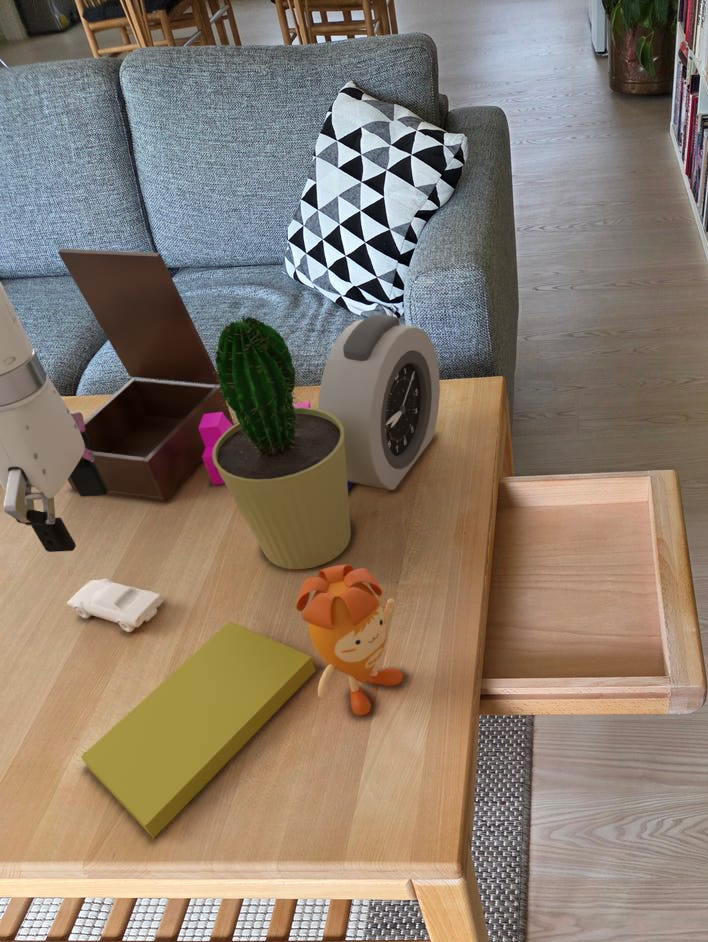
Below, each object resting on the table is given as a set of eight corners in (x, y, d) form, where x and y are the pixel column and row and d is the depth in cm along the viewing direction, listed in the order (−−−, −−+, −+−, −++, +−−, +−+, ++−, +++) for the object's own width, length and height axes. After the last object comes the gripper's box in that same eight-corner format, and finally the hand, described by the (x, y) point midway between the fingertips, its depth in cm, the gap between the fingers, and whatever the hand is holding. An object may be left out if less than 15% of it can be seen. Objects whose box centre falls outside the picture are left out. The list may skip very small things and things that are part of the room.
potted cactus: (334, 590, 104) (267, 358, 83) (225, 569, 109) (135, 344, 87) (387, 513, 114) (339, 287, 92) (285, 496, 118) (217, 278, 97)
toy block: (212, 484, 122) (194, 438, 117) (221, 459, 126) (203, 414, 121) (317, 473, 121) (304, 426, 116) (322, 448, 125) (309, 402, 120)
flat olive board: (235, 634, 100) (70, 786, 87) (230, 620, 99) (61, 774, 85) (315, 670, 95) (153, 838, 82) (311, 656, 93) (145, 826, 80)
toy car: (98, 585, 109) (87, 565, 106) (173, 607, 104) (163, 586, 102) (67, 614, 105) (55, 594, 103) (143, 638, 101) (132, 617, 99)
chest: (165, 503, 120) (147, 461, 115) (73, 490, 124) (52, 449, 119) (234, 426, 133) (221, 385, 128) (148, 417, 137) (132, 377, 132)
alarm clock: (380, 508, 115) (357, 371, 100) (330, 497, 117) (301, 362, 102) (444, 422, 128) (432, 291, 114) (398, 414, 130) (381, 284, 116)
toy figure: (351, 739, 88) (318, 636, 77) (299, 705, 92) (260, 602, 81) (428, 668, 94) (408, 562, 83) (376, 638, 98) (350, 534, 87)
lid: (157, 256, 111) (160, 252, 111) (57, 252, 115) (60, 248, 115) (218, 384, 127) (221, 381, 128) (129, 376, 131) (132, 373, 132)
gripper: (4, 339, 90) (76, 477, 102) (-79, 430, 77) (13, 575, 90) (73, 333, 89) (137, 473, 101) (0, 425, 77) (82, 571, 89)
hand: (79, 521), depth 95 cm, fingers open, 9 cm apart
